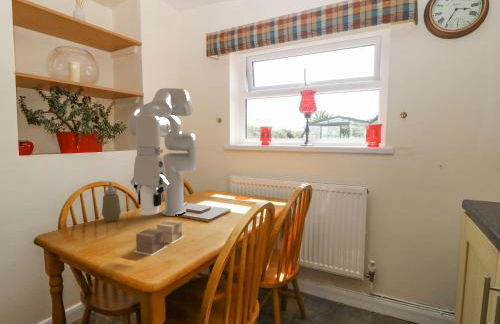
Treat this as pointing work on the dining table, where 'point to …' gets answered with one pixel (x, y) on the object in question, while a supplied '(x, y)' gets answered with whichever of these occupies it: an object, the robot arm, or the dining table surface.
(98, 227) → the dining table surface
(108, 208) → the squeeze bottle
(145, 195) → the white bottle
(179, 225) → the oak block
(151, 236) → the walnut block
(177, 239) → the build board
